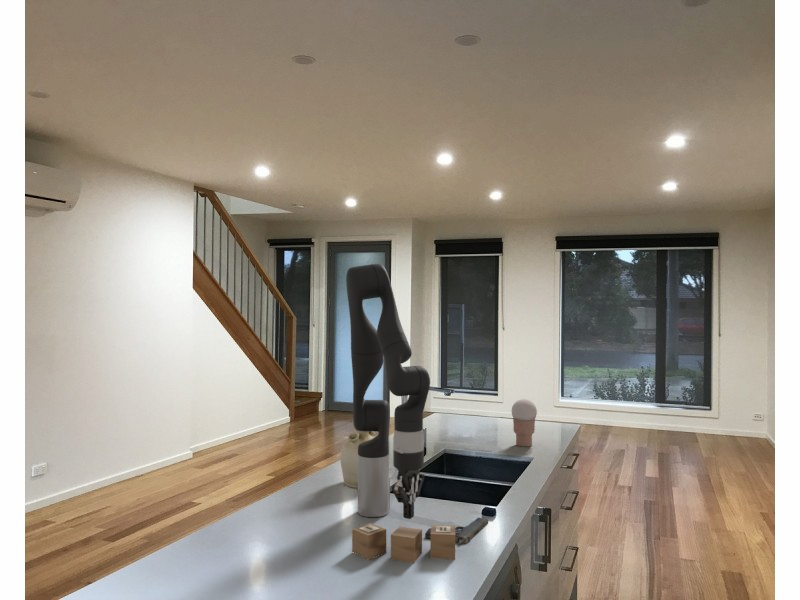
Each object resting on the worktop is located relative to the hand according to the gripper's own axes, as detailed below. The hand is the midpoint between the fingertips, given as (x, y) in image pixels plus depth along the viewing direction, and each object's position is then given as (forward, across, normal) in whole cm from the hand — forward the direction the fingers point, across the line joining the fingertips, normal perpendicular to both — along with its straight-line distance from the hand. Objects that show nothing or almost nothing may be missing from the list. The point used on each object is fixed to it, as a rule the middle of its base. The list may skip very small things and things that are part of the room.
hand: (408, 517), depth 151 cm
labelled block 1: (+10, +4, -9) cm, 14 cm away
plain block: (+9, +1, 0) cm, 9 cm away
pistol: (+10, -21, +4) cm, 24 cm away
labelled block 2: (+10, -5, +7) cm, 13 cm away
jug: (+11, -44, -42) cm, 62 cm away
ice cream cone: (+12, -128, -12) cm, 129 cm away
